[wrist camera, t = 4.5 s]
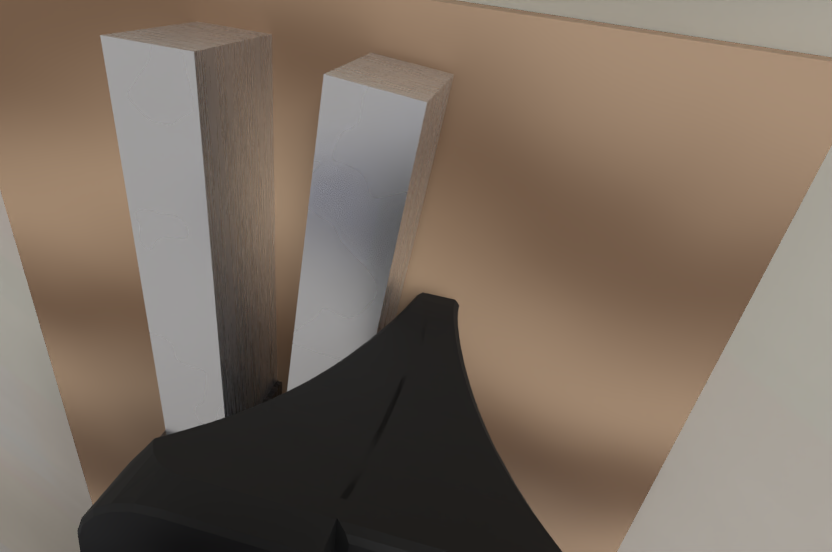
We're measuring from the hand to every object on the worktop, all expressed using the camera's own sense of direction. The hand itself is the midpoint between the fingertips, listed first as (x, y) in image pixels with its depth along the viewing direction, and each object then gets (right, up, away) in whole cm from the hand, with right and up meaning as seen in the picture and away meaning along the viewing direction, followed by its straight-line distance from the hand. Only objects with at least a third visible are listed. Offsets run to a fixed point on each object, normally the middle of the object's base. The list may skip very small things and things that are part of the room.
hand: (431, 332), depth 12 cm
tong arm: (-2, -2, +3) cm, 4 cm away
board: (-3, -1, +4) cm, 5 cm away
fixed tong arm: (-5, 0, +3) cm, 5 cm away
